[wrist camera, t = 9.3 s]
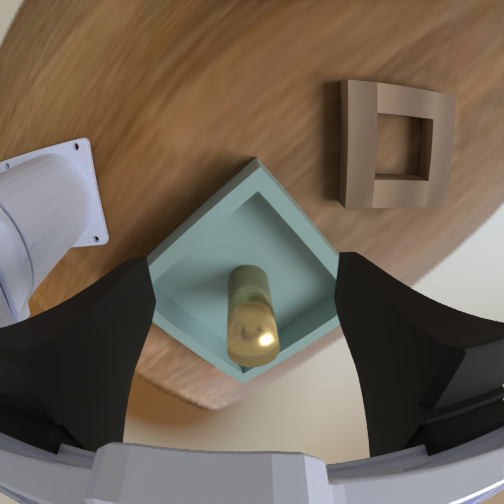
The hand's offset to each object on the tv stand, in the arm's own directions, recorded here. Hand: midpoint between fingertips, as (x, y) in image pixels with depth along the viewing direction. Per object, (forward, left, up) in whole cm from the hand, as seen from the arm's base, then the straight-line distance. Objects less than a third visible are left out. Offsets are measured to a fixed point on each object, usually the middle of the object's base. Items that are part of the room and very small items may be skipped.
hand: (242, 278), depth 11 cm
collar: (+11, +3, -10) cm, 16 cm away
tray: (0, -7, -10) cm, 12 cm away
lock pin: (0, -7, -10) cm, 12 cm away
